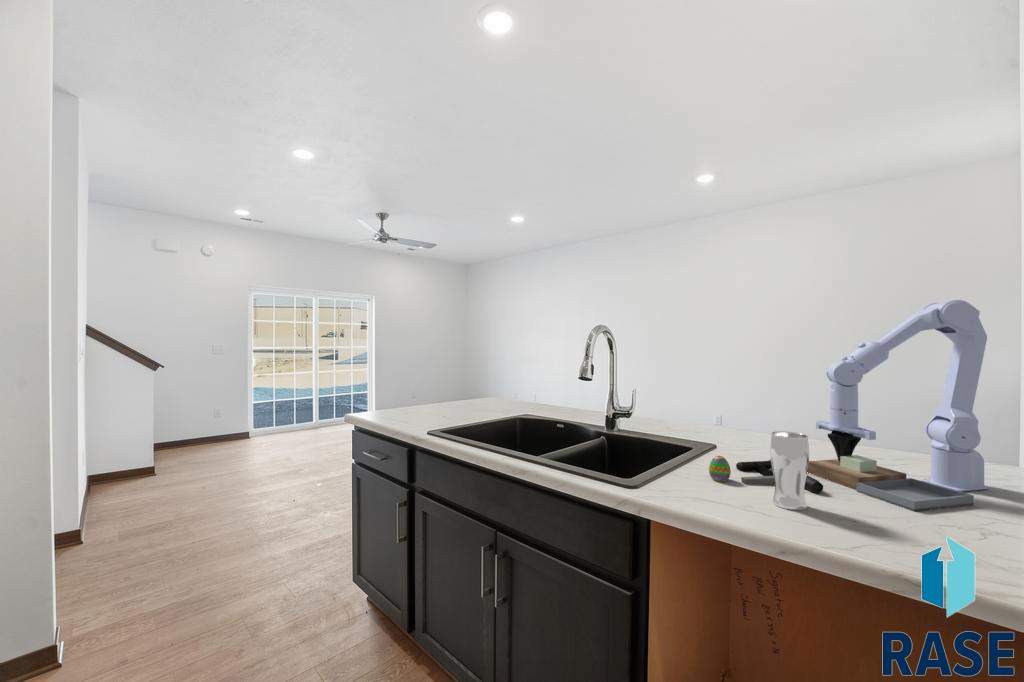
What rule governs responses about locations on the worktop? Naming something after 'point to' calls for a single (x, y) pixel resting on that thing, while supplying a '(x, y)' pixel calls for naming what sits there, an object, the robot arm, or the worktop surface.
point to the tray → (915, 494)
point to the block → (858, 463)
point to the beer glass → (789, 468)
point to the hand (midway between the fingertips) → (844, 462)
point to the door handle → (771, 475)
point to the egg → (719, 469)
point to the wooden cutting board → (850, 473)
